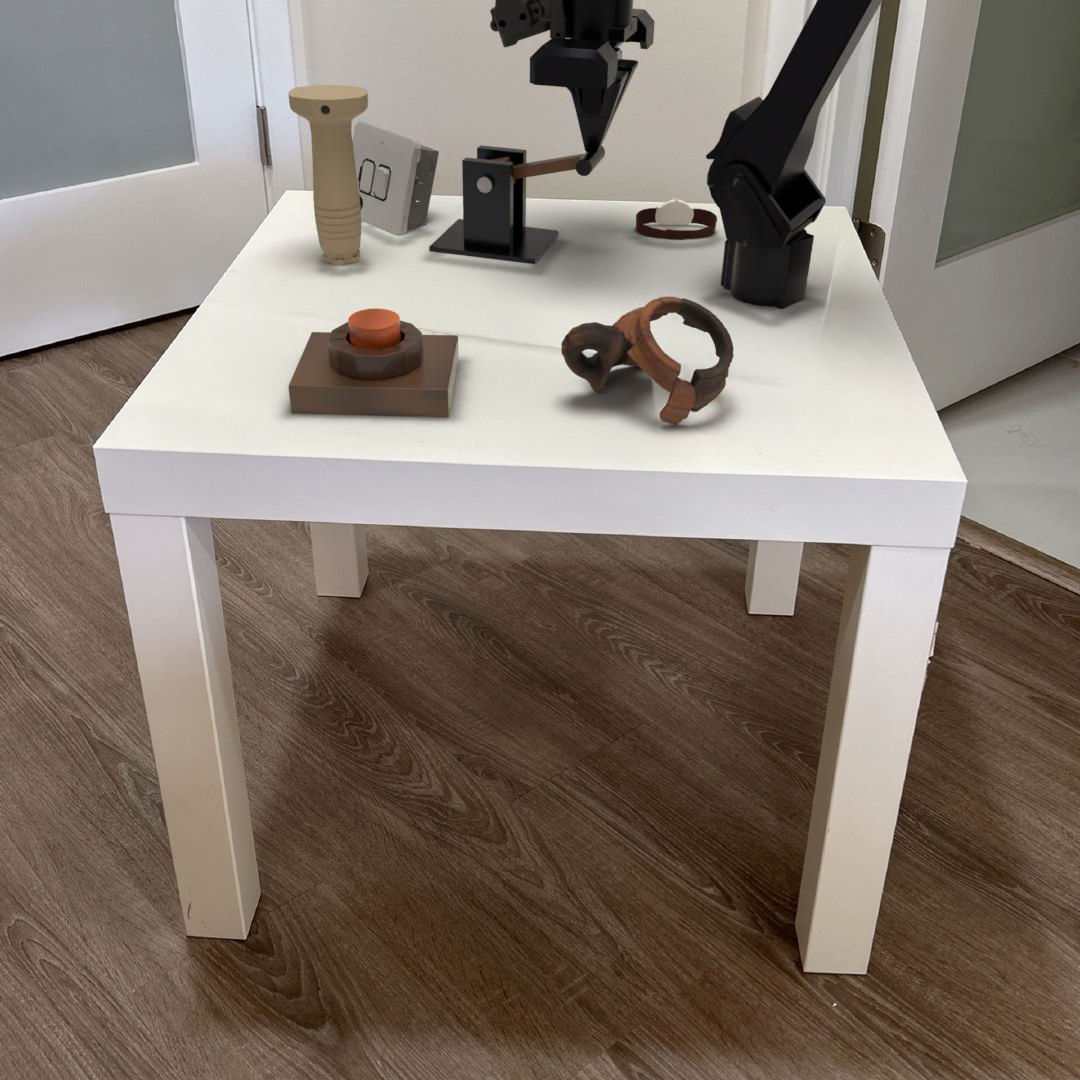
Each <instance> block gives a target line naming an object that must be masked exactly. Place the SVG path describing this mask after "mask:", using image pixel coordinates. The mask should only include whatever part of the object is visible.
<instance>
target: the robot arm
mask: <svg viewBox="0 0 1080 1080" xmlns="http://www.w3.org/2000/svg"><path fill="white" fill-rule="evenodd" d="M882 2H883V0H816V2H815V4H814V5H813V8H812V9H811V12H810V13H809V16H808V17H807V19H806V21H805V23H804V25H803V27H802V28H801V30H800V32H799V34H798V36H797V39H796V40H795V42H794V43H793V45H792V48H791V50H790V51H789V53H788V55H787V57H786V59H785V61H784V62H783V65H782V67H781V68H780V71H779V73H778V74H777V76H776V78H775V80H774V81H773V84H772V86H771V88H770V89H769V91H768V93H767V94H766V96H765V97H764V99H762V97H760V96H756V97H755V98H752V99H751V100H749V101H748V102H746V103H743V104H742V105H740V106H738V107H737V108H734V109H732V110H731V111H730V112H729V114H728V115H727V118H726V120H725V122H724V125H723V128H722V130H721V134H720V136H719V140H718V142H717V143H716V145H714V148H712V150H710V151H708V153H706V155H705V158H706V159H707V160H712V162H711V164H710V166H709V168H708V170H707V174H706V185H707V187H708V189H709V193H710V196H711V199H712V200H713V202H714V203H715V205H716V207H717V208H719V213H720V216H721V222H722V225H723V230H724V234H725V238H726V240H725V241H724V248H723V256H722V266H721V276H720V286H721V287H723V289H724V290H727V291H729V293H730V295H731V296H732V297H733V298H734V299H735V300H737V301H739V302H742V303H744V304H748V305H751V306H757V307H766V308H767V307H770V308H776V309H780V310H784V309H787V308H789V307H791V306H794V305H796V304H798V303H800V302H803V301H804V300H805V298H806V291H807V285H808V278H809V272H810V266H811V260H812V252H813V246H814V239H815V235H814V234H811V233H809V232H808V231H807V229H806V228H807V227H808V226H810V224H814V223H815V222H816V221H817V219H818V218H819V215H820V214H821V212H822V210H823V208H824V207H825V205H826V202H827V199H826V197H825V196H824V194H823V193H822V191H821V190H820V188H819V187H818V185H817V184H816V183H815V182H814V180H813V179H812V177H811V176H810V175H809V173H808V172H807V170H806V168H805V167H806V164H807V162H808V159H809V157H810V154H811V151H812V148H813V145H814V141H815V136H816V131H817V126H818V122H819V115H820V113H821V111H822V109H823V107H824V104H825V103H826V102H827V99H828V97H829V96H830V94H831V92H832V91H833V89H834V87H835V85H836V83H837V81H838V80H839V78H840V76H841V74H842V73H843V71H844V69H845V67H846V66H847V64H848V62H849V60H850V59H851V57H852V55H853V54H854V51H855V50H856V48H857V46H858V45H859V43H860V41H861V39H862V37H863V36H864V34H865V32H866V30H867V29H868V27H869V25H870V24H871V21H872V20H873V18H874V16H875V14H876V13H877V11H878V10H879V7H880V6H881V3H882ZM489 12H490V15H491V20H490V23H489V27H490V30H491V31H493V32H495V33H497V32H498V34H499V37H500V40H501V43H502V47H503V48H509V47H512V46H515V45H517V44H518V42H519V41H522V40H525V39H527V38H530V37H534V36H537V35H541V34H543V33H547V32H548V31H549V38H550V39H549V40H548V41H546V42H545V43H543V44H542V45H541V46H540V47H538V49H537V50H535V52H534V53H533V54H532V55H531V56H529V83H530V84H532V85H535V86H546V87H557V88H566V89H567V90H568V91H569V93H570V95H571V98H572V102H573V105H574V109H575V113H576V118H577V121H578V126H579V131H580V135H581V140H582V143H583V148H584V151H585V153H586V152H589V153H597V152H598V151H599V150H600V148H601V145H602V146H603V143H604V141H605V139H606V136H607V134H608V131H609V130H610V127H611V125H612V122H613V120H614V118H615V116H616V113H617V111H618V110H619V106H620V104H621V102H622V100H623V97H624V95H625V94H626V91H627V89H628V87H629V85H630V82H631V80H632V77H633V76H634V73H635V71H636V69H637V67H638V65H639V61H638V60H636V59H626V58H623V50H621V48H620V46H621V45H623V43H638V44H639V47H640V49H641V50H648V49H649V48H650V47H652V46H653V45H654V40H655V39H654V38H655V36H654V35H655V24H656V23H655V20H654V19H653V17H652V16H651V15H650V14H649V13H648V11H647V10H646V9H643V8H634V0H495V3H494V6H493V7H491V8H490V10H489Z"/></svg>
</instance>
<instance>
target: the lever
mask: <svg viewBox="0 0 1080 1080" xmlns="http://www.w3.org/2000/svg"><path fill="white" fill-rule="evenodd" d="M605 155H606V150H605V148H604V147H603V144H602V145H601V148H600V150H599V151H598V152H597V153H589V152H586V151H585V152H584V153H580V154H579V153H578V154H574V155H568V156H567V155H566V156H561V157H555V158H548V159H542V160H537V161H530V162H526V163H524V164H518V165H513V185H514V184H515V183H516V182H515V179H519V178H525V177H526V178H531V177H537V176H543V175H549V174H550V175H551V174H555V173H562V172H563V173H564V172H568V171H576V173H577V174H578V175H579V176H580V177H588V176H589V175H590V174H591V173H592V172H593V171H594V169H595V168H596V167H597V166H598V165H599V163H600V162H601V161H602V160H603V159H604V158H605ZM491 160H496V161H505V162H511V160H510V157H503V158H497V159H491Z"/></svg>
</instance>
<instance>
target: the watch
mask: <svg viewBox="0 0 1080 1080" xmlns="http://www.w3.org/2000/svg"><path fill="white" fill-rule="evenodd" d="M717 222H718V217H717V215H716V214H715V213H714V212H712V211H710V210H709V209H708V210H707V209H702V208H696V207H691V206H690V204H688V202H686V201H685V200H682V199H679V197H675V198H673V199H670V200H667V201H665V202H664V203H662V204H661V205H660V206H659V207H658V206H656V207H649V208H643V209H641V210H639V211H638V212H637V213H636V214H635V232H637V233H638V234H640V235H642V236H646V237H650V238H656V239H657V238H658V239H667V240H691V239H692V240H693V239H702V238H707V237H710V236H712V235H714V234H715V232H716V227H717ZM646 224H647V225H646ZM648 224H658V225H660V226H684V227H685V226H688V225H690V224H691V225H693V224H697V225H702V226H706V227H704V228H700V229H699V228H698V229H692V230H691V229H689V230H687V229H686V230H682V229H681V230H680V229H679V230H678V229H677V230H676V229H667V228H665V229H661V228H656V227H653V226H648Z"/></svg>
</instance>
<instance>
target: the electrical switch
mask: <svg viewBox="0 0 1080 1080" xmlns="http://www.w3.org/2000/svg"><path fill="white" fill-rule="evenodd" d="M352 142H353V151H354V159H355V167H356V175H357V182H358V189H359V197H360V207H361V209H360V210H361V222H364V223H366V224H368V225H370V226H371V227H372V226H373V227H375V228H377V229H379V230H382V231H383V232H386V233H388V234H390V235H393V236H397V237H401V236H405V235H407V233H408V231H410V230H415V229H418V228H420V227H421V228H422V227H424V226H426V223H427V219H428V213H429V209H430V202H431V197H432V192H433V186H434V181H435V175H436V170H437V166H438V161H439V160H438V159H439V154H440V152H439V150H436V149H433V148H430V147H428V146H425V145H422V141H421V140H419V139H418V138H414V137H412V136H409V135H405V134H403V133H400V132H397V131H395V130H392V129H390V128H386V127H384V126H380V125H379V124H375V123H372V122H369V121H365V120H364V121H362V120H359V121H358V122H357V123H356V124H355V125H354V131H353V135H352Z"/></svg>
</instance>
